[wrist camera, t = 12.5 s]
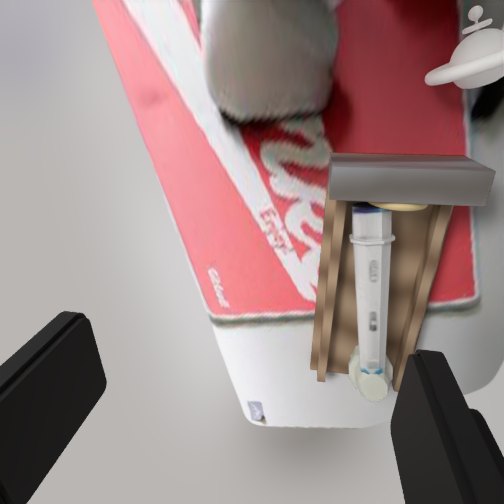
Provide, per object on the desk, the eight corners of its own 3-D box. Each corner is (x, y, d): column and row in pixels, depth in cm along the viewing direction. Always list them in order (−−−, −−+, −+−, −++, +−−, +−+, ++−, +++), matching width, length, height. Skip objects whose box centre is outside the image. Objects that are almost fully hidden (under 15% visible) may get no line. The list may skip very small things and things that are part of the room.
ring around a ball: (417, 101, 32) (445, 105, 25) (406, 36, 30) (433, 21, 23) (514, 66, 30) (575, 60, 23) (509, -7, 28) (574, -39, 21)
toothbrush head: (403, 206, 32) (399, 418, 39) (389, 195, 38) (388, 380, 45) (345, 210, 33) (352, 415, 40) (342, 199, 39) (348, 379, 47)
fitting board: (330, 152, 36) (332, 166, 29) (463, 155, 34) (495, 171, 27) (310, 364, 49) (309, 404, 43) (404, 375, 47) (417, 419, 41)
